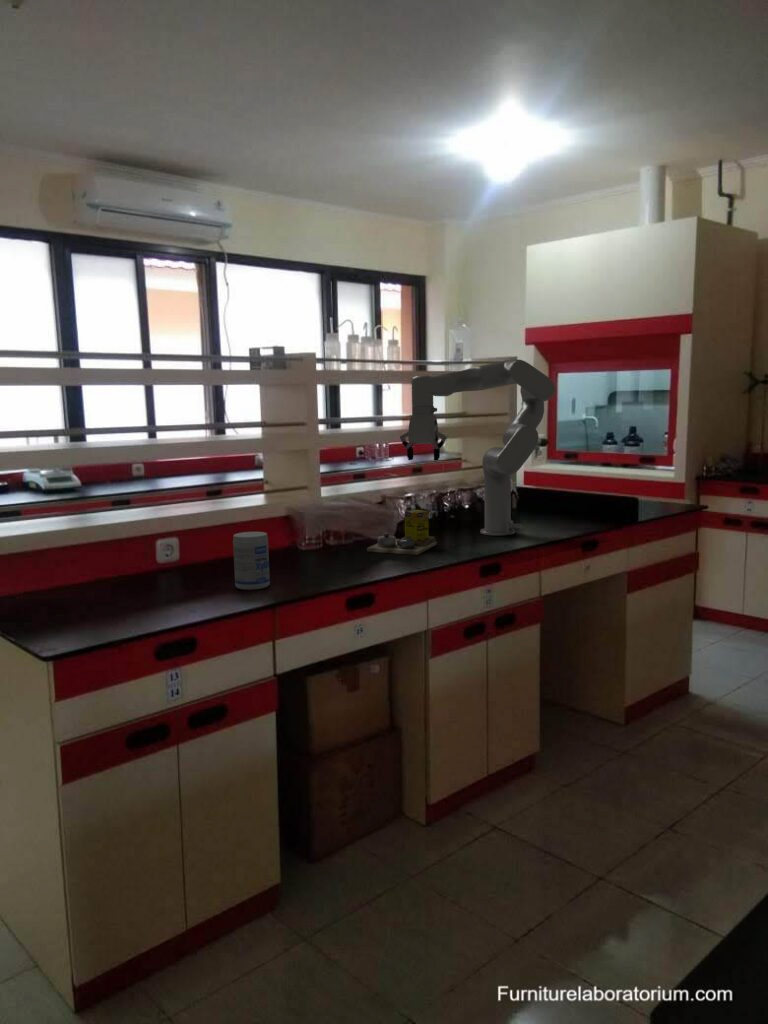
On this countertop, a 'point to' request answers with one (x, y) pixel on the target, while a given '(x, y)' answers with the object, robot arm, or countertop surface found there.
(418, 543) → the carrier board
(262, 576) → the supplement tub
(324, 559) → the countertop surface
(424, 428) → the robot arm
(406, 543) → the seated puck
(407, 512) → the supplement box
